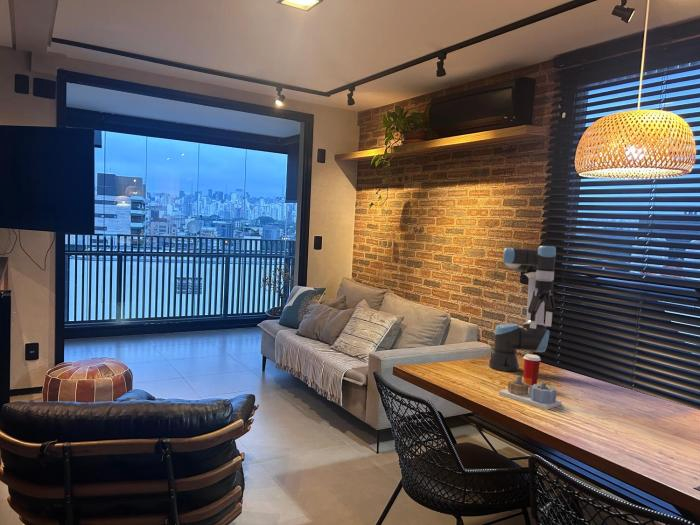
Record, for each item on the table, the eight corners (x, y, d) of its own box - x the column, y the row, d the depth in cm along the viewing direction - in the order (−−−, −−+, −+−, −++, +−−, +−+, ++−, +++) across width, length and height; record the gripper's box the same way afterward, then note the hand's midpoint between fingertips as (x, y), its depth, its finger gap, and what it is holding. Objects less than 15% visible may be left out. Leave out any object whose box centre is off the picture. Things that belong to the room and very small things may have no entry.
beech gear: (514, 388, 227) (515, 379, 226) (531, 393, 221) (532, 384, 220) (504, 391, 221) (505, 382, 221) (521, 396, 215) (522, 387, 215)
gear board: (513, 390, 229) (515, 371, 229) (561, 404, 213) (562, 384, 212) (498, 394, 221) (500, 375, 221) (546, 409, 205) (548, 388, 204)
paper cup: (536, 383, 242) (538, 354, 241) (540, 388, 234) (543, 358, 233) (519, 382, 243) (521, 353, 242) (523, 387, 235) (525, 357, 234)
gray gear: (559, 401, 212) (560, 389, 212) (547, 405, 206) (548, 393, 205) (536, 394, 220) (537, 382, 220) (524, 398, 213) (525, 386, 213)
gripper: (550, 279, 240) (546, 323, 241) (522, 279, 224) (518, 327, 225) (565, 280, 235) (561, 326, 236) (538, 281, 218) (534, 330, 219)
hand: (540, 327), depth 230 cm, fingers open, 13 cm apart
